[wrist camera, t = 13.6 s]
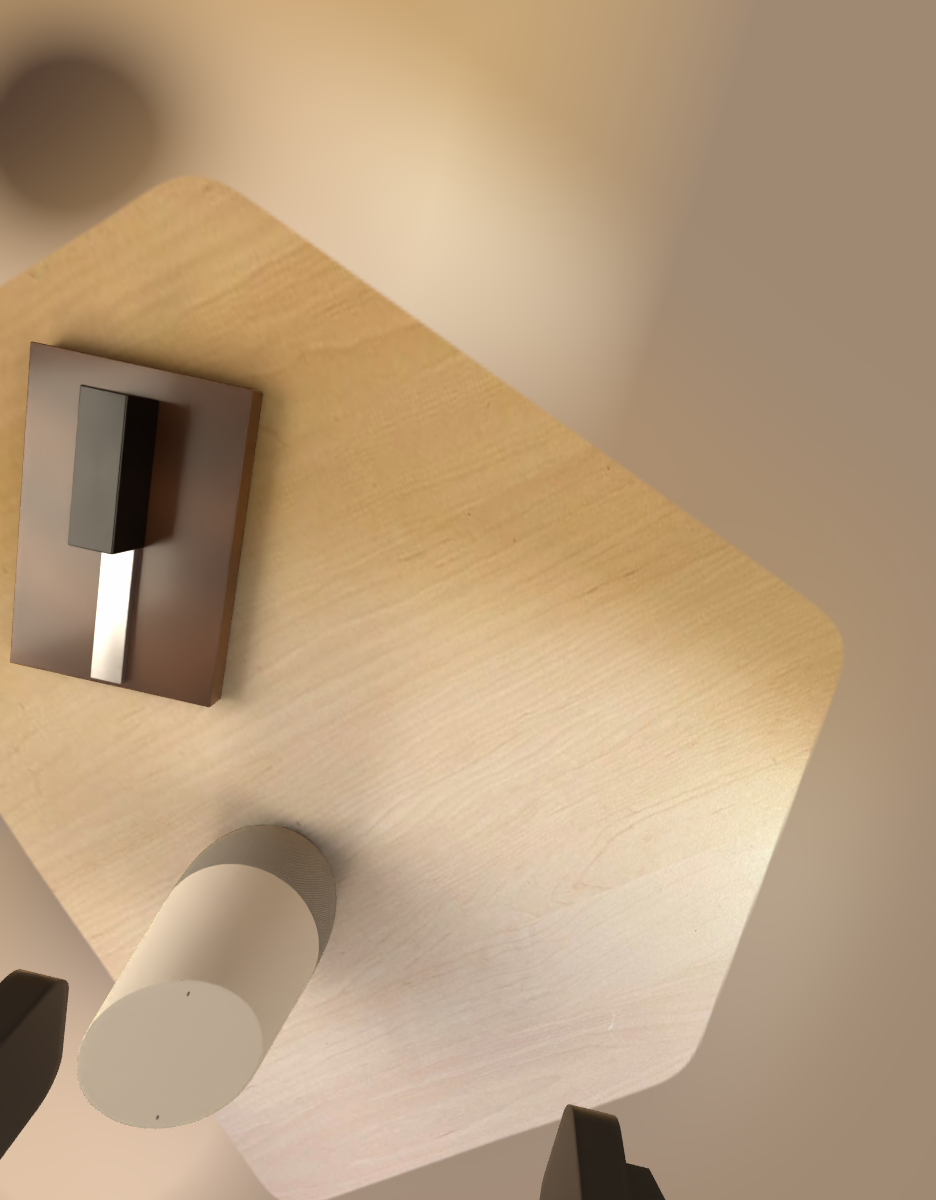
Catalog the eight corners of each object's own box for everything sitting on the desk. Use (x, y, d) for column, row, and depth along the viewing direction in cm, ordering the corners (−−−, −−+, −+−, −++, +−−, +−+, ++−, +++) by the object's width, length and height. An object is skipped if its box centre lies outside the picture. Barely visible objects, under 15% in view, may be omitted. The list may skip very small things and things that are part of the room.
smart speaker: (326, 958, 42) (239, 1194, 29) (190, 916, 42) (38, 1132, 29) (363, 833, 40) (289, 1022, 27) (221, 789, 40) (73, 956, 27)
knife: (116, 390, 34) (79, 383, 31) (160, 400, 34) (127, 394, 31) (90, 673, 38) (55, 691, 35) (130, 682, 38) (98, 701, 35)
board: (49, 346, 36) (30, 341, 34) (263, 392, 35) (252, 389, 34) (28, 655, 39) (9, 662, 38) (221, 698, 39) (209, 707, 38)
